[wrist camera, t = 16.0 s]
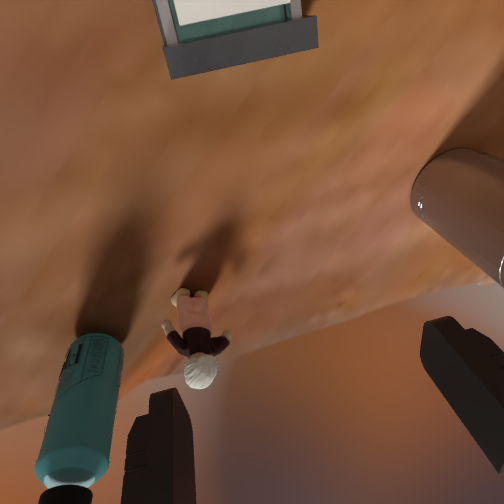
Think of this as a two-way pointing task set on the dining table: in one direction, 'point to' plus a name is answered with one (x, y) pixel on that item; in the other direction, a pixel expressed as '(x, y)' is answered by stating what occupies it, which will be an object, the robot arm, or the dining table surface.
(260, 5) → the carriage
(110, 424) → the beverage bottle
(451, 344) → the robot arm
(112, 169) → the dining table surface
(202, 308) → the grandmother figurine
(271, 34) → the gray tray
